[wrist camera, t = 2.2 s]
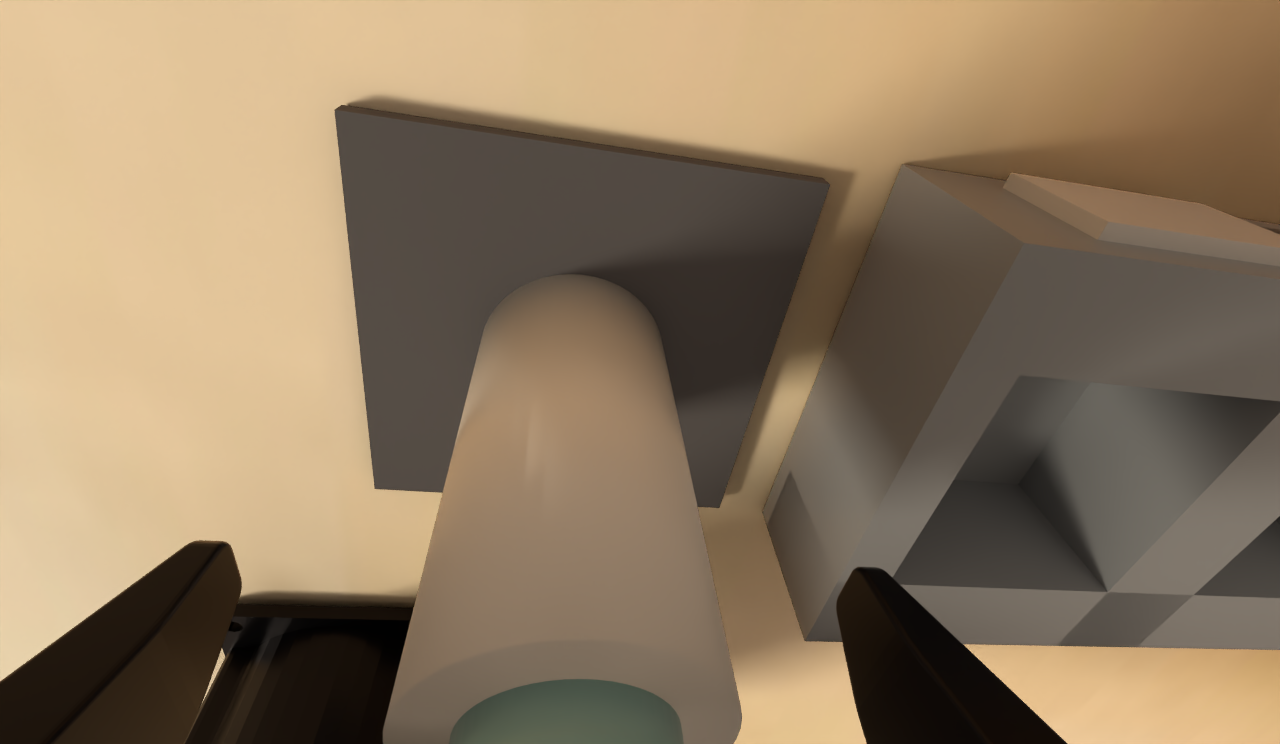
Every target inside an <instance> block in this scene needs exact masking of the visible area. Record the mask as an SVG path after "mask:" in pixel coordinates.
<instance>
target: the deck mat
mask: <svg viewBox="0 0 1280 744" xmlns="http://www.w3.org/2000/svg"><path fill="white" fill-rule="evenodd" d="M335 118H336V127H337V137H338V146H339V156H340V165H341V175H342V184H343V194H344V203H345V212H346V222H347V231H348V241H349V250H350V260H351V269H352V278H353V288H354V297H355V307H356V316H357V326H358V335H359V344H360V354H361V363H362V373H363V382H364V392H365V401H366V410H367V420H368V429H369V439H370V448H371V458H372V467H373V476H374V486H375V489H387V490H405V491H424V492H442V493H443V489H444V485H445V481H446V477H447V474H448V470H449V466H450V462H451V458H452V454H453V450H454V446H455V442H456V438H457V434H458V430H459V426H460V422H461V418H462V414H463V410H464V406H465V402H466V398H467V394H468V390H469V386H470V382H471V378H472V374H473V370H474V366H475V362H476V358H477V354H478V350H479V346H480V342H481V338H482V335H483V331H484V327H485V325H486V323H487V321H488V319H489V317H490V315H491V314H492V312H493V311H494V309H495V308H496V307H497V306H498V305H499V303H500V302H501V301H502V300H503V299H504V298H506V297H507V296H508V295H509V294H510V293H512V292H513V291H515V290H516V289H518V288H519V287H521V286H523V285H525V284H527V283H530V282H532V281H534V280H538V279H541V278H544V277H549V276H554V275H564V274H578V275H587V276H593V277H597V278H601V279H604V280H607V281H610V282H612V283H614V284H616V285H619V286H620V287H622V288H624V289H625V290H627V291H629V292H630V293H631V294H633V295H634V296H635V297H636V298H638V299H639V300H640V301H641V302H642V303H643V305H644V306H645V307H646V308H647V309H648V311H649V312H650V313H651V315H652V316H653V318H654V320H655V322H656V324H657V326H658V329H659V332H660V335H661V340H662V345H663V349H664V354H665V359H666V363H667V368H668V372H669V377H670V382H671V386H672V391H673V396H674V400H675V405H676V409H677V414H678V419H679V423H680V428H681V433H682V437H683V442H684V446H685V451H686V456H687V460H688V465H689V470H690V474H691V479H692V483H693V488H694V493H695V497H696V502H697V507H712V508H719V507H720V504H721V501H722V498H723V495H724V493H725V490H726V487H727V484H728V481H729V478H730V475H731V472H732V469H733V466H734V463H735V460H736V458H737V455H738V452H739V449H740V446H741V443H742V440H743V437H744V434H745V431H746V428H747V425H748V423H749V420H750V417H751V414H752V411H753V408H754V405H755V402H756V399H757V396H758V393H759V390H760V388H761V385H762V382H763V379H764V376H765V373H766V370H767V367H768V364H769V361H770V358H771V355H772V353H773V350H774V347H775V344H776V341H777V338H778V335H779V332H780V329H781V326H782V323H783V321H784V318H785V315H786V312H787V309H788V306H789V303H790V300H791V297H792V294H793V291H794V288H795V286H796V283H797V280H798V277H799V274H800V271H801V268H802V265H803V262H804V259H805V256H806V253H807V251H808V248H809V245H810V242H811V239H812V236H813V233H814V230H815V227H816V224H817V221H818V218H819V216H820V213H821V210H822V207H823V204H824V201H825V198H826V195H827V192H828V189H829V186H830V184H829V183H828V182H827V181H826V180H825V179H823V178H818V177H811V176H805V175H798V174H792V173H785V172H779V171H772V170H766V169H759V168H752V167H746V166H739V165H733V164H726V163H720V162H713V161H707V160H700V159H693V158H687V157H680V156H674V155H667V154H661V153H654V152H648V151H641V150H634V149H628V148H621V147H615V146H608V145H602V144H595V143H588V142H582V141H575V140H569V139H562V138H556V137H549V136H543V135H536V134H529V133H523V132H516V131H510V130H503V129H497V128H490V127H484V126H477V125H470V124H464V123H457V122H451V121H444V120H438V119H431V118H425V117H418V116H411V115H405V114H398V113H392V112H385V111H379V110H372V109H366V108H359V107H352V106H346V105H341V106H340V107H338V108H337V109H335Z"/></svg>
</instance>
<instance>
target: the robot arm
mask: <svg viewBox="0 0 1280 744" xmlns="http://www.w3.org/2000/svg"><path fill="white" fill-rule="evenodd" d="M241 588H242V581H241V576H240V573H239V570H238V566H237V563H236V560H235V557H234V553H233V550H232V548H231V545H229V544H228V543H227V542H224V541H202V540H200V541H194V542H191V543H189V544H187V545H186V546H184V547H183V548H182V549H180V550H179V551H177V552H176V553H175V554H173V555H172V556H171V557H169V558H168V559H167V560H165V561H164V562H162V563H161V564H160V565H158V566H157V567H156V568H154V569H153V570H152V571H150V572H149V573H147V574H146V575H145V576H143V577H142V578H141V579H139V580H138V581H137V582H135V583H134V584H132V585H131V586H130V587H128V588H127V589H126V590H124V591H123V592H122V593H120V594H119V595H117V596H116V597H115V598H113V599H112V600H111V601H109V602H108V603H107V604H105V605H104V606H102V607H101V608H100V609H98V610H97V611H96V612H94V613H93V614H92V615H90V616H89V617H87V618H86V619H85V620H83V621H82V622H81V623H79V624H78V625H77V626H75V627H74V628H72V629H71V630H70V631H68V632H67V633H66V634H64V635H63V636H62V637H60V638H59V639H57V640H56V641H55V642H53V643H52V644H51V645H49V646H48V647H47V648H45V649H44V650H42V651H41V652H40V653H38V654H37V655H36V656H34V657H33V658H32V659H30V660H29V661H27V662H26V663H25V664H23V665H22V666H21V667H19V668H18V669H17V670H15V671H14V672H12V673H11V674H10V675H8V676H7V677H6V678H4V679H3V680H2V681H0V744H383V728H384V724H385V720H386V716H387V712H388V708H389V704H390V700H391V696H392V692H393V688H394V684H395V680H396V676H397V672H398V668H399V664H400V660H401V656H402V652H403V648H404V644H405V640H406V636H407V632H408V628H409V624H410V620H411V617H412V613H413V609H412V608H372V607H332V606H292V605H252V604H237V603H238V601H239V598H240V594H241ZM836 613H837V618H838V623H839V628H840V633H841V638H842V642H843V647H844V652H845V657H846V662H847V667H848V671H849V676H850V681H851V686H852V691H853V696H854V700H855V704H856V708H857V712H858V716H859V719H860V723H861V726H862V729H863V733H864V736H865V739H866V742H867V744H1067V743H1066V742H1065V741H1064V740H1063V739H1062V738H1061V737H1060V736H1059V735H1058V734H1057V733H1056V732H1055V731H1054V730H1052V729H1051V728H1050V727H1049V726H1048V725H1047V724H1046V723H1045V722H1044V721H1043V720H1042V719H1041V718H1040V717H1039V716H1038V715H1037V714H1036V713H1035V712H1034V711H1032V710H1031V709H1030V708H1029V707H1028V706H1027V705H1026V704H1025V703H1024V702H1023V701H1022V700H1021V699H1020V698H1019V697H1018V696H1017V695H1016V694H1015V693H1014V692H1012V691H1011V690H1010V689H1009V688H1008V687H1007V686H1006V685H1005V684H1004V683H1003V682H1002V681H1001V680H1000V679H999V678H998V677H997V676H996V675H995V674H994V673H992V672H991V671H990V670H989V669H988V668H987V667H986V666H985V665H984V664H983V663H982V662H981V661H980V660H979V659H978V658H977V657H976V656H975V655H974V654H972V653H971V652H970V651H969V650H968V649H967V648H966V647H965V646H964V645H963V644H962V643H961V642H960V641H959V640H958V639H957V638H956V637H955V636H954V635H952V634H951V633H950V632H949V631H948V630H947V629H946V628H945V627H944V626H943V625H942V624H941V623H940V622H939V621H938V620H937V619H936V618H935V617H934V616H932V615H931V614H930V613H929V612H928V611H927V610H926V609H925V608H924V607H923V606H922V605H921V604H920V603H919V602H918V601H917V600H916V599H915V598H914V597H912V596H911V595H910V594H909V593H908V592H907V591H906V590H905V589H904V588H903V587H902V586H901V585H900V584H899V583H898V582H897V581H896V580H895V579H894V578H892V577H891V576H890V575H889V574H888V573H887V572H886V571H885V570H883V569H881V568H877V567H857V568H855V569H854V570H853V571H852V572H851V574H850V576H849V578H848V580H847V581H846V583H845V585H844V587H843V588H842V590H841V592H840V594H839V596H838V598H837V602H836ZM221 648H222V649H223V651H224V654H225V659H224V661H223V663H222V665H221V667H220V669H219V671H218V673H217V675H216V677H215V679H214V681H213V683H212V685H211V687H210V689H209V691H208V693H207V695H206V697H205V699H204V696H205V694H206V691H207V688H208V685H209V682H210V679H211V677H212V674H213V671H214V668H215V665H216V663H217V660H218V657H219V654H220V651H221ZM203 699H204V701H203ZM202 701H203V703H202ZM201 704H202V705H201Z"/></svg>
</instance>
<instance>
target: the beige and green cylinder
mask: <svg viewBox="0 0 1280 744" xmlns="http://www.w3.org/2000/svg"><path fill="white" fill-rule="evenodd" d="M741 721H742V713H741V705H740V701H739V696H738V691H737V687H736V682H735V678H734V673H733V668H732V664H731V659H730V655H729V650H728V645H727V641H726V636H725V631H724V627H723V622H722V618H721V613H720V608H719V604H718V599H717V594H716V590H715V585H714V581H713V576H712V571H711V567H710V562H709V557H708V553H707V548H706V544H705V539H704V534H703V530H702V525H701V520H700V516H699V511H698V507H697V502H696V497H695V493H694V488H693V483H692V479H691V474H690V470H689V465H688V460H687V456H686V451H685V446H684V442H683V437H682V433H681V428H680V423H679V419H678V414H677V409H676V405H675V400H674V396H673V391H672V386H671V382H670V377H669V372H668V368H667V363H666V359H665V354H664V349H663V345H662V340H661V335H660V332H659V329H658V326H657V324H656V322H655V320H654V318H653V316H652V315H651V313H650V312H649V311H648V309H647V308H646V307H645V306H644V305H643V303H642V302H641V301H640V300H639V299H638V298H636V297H635V296H634V295H633V294H631V293H630V292H629V291H627V290H625V289H624V288H622V287H620V286H619V285H616V284H614V283H612V282H610V281H607V280H604V279H601V278H597V277H593V276H587V275H578V274H564V275H554V276H549V277H544V278H541V279H538V280H534V281H532V282H530V283H527V284H525V285H523V286H521V287H519V288H518V289H516V290H515V291H513V292H512V293H510V294H509V295H508V296H507V297H506V298H504V299H503V300H502V301H501V302H500V303H499V305H498V306H497V307H496V308H495V309H494V311H493V312H492V314H491V315H490V317H489V319H488V321H487V323H486V325H485V327H484V331H483V335H482V338H481V342H480V346H479V350H478V354H477V358H476V362H475V366H474V370H473V374H472V378H471V382H470V386H469V390H468V394H467V398H466V402H465V406H464V410H463V414H462V418H461V422H460V426H459V430H458V434H457V438H456V442H455V446H454V450H453V454H452V458H451V462H450V466H449V470H448V474H447V477H446V481H445V485H444V489H443V493H442V497H441V501H440V505H439V509H438V513H437V517H436V521H435V525H434V529H433V533H432V537H431V541H430V545H429V549H428V553H427V557H426V561H425V565H424V569H423V573H422V577H421V581H420V585H419V589H418V593H417V597H416V601H415V605H414V609H413V613H412V617H411V620H410V624H409V628H408V632H407V636H406V640H405V644H404V648H403V652H402V656H401V660H400V664H399V668H398V672H397V676H396V680H395V684H394V688H393V692H392V696H391V700H390V704H389V708H388V712H387V716H386V720H385V724H384V728H383V744H733V743H734V742H735V740H736V738H737V736H738V733H739V731H740V728H741Z"/></svg>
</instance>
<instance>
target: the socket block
mask: <svg viewBox="0 0 1280 744" xmlns="http://www.w3.org/2000/svg"><path fill="white" fill-rule="evenodd" d="M762 513H763V516H764V519H765V522H766V525H767V528H768V531H769V534H770V537H771V540H772V543H773V546H774V549H775V552H776V555H777V558H778V561H779V564H780V567H781V571H782V574H783V577H784V580H785V583H786V586H787V589H788V592H789V595H790V598H791V601H792V604H793V607H794V610H795V613H796V616H797V619H798V622H799V625H800V628H801V631H802V634H803V637H804V640H805V641H824V642H842V638H841V633H840V628H839V623H838V618H837V613H836V602H837V598H838V596H839V594H840V592H841V590H842V588H843V587H844V585H845V583H846V581H847V580H848V578H849V576H850V574H851V572H852V571H853V570H854V569H855V568H857V567H877V568H881V569H883V570H885V571H886V572H887V573H888V574H889V575H890V576H891V577H892V578H894V579H895V580H896V581H897V582H898V583H899V584H900V585H901V586H902V587H903V588H904V589H905V590H906V591H907V592H908V593H909V594H910V595H911V596H912V597H914V598H915V599H916V600H917V601H918V602H919V603H920V604H921V605H922V606H923V607H924V608H925V609H926V610H927V611H928V612H929V613H930V614H931V615H932V616H934V617H935V618H936V619H937V620H938V621H939V622H940V623H941V624H942V625H943V626H944V627H945V628H946V629H947V630H948V631H949V632H950V633H951V634H952V635H954V636H955V637H956V638H957V639H958V640H959V641H960V642H961V643H962V644H987V645H1041V646H1096V647H1150V648H1204V649H1258V650H1280V224H1273V223H1267V222H1261V221H1255V220H1249V219H1242V218H1237V217H1234V216H1232V215H1229V214H1227V213H1224V212H1222V211H1219V210H1217V209H1214V208H1212V207H1209V206H1207V205H1204V204H1202V203H1196V202H1189V201H1183V200H1177V199H1171V198H1165V197H1159V196H1153V195H1146V194H1140V193H1134V192H1128V191H1122V190H1116V189H1110V188H1104V187H1097V186H1091V185H1085V184H1079V183H1073V182H1067V181H1061V180H1055V179H1048V178H1042V177H1036V176H1030V175H1024V174H1018V173H1012V172H1011V173H1010V175H1009V176H1008V178H1007V180H1006V181H1005V180H999V179H993V178H987V177H980V176H974V175H968V174H962V173H955V172H949V171H943V170H937V169H930V168H924V167H918V166H912V165H905V164H902V166H901V168H900V171H899V173H898V176H897V178H896V181H895V183H894V186H893V188H892V191H891V193H890V196H889V198H888V201H887V203H886V205H885V208H884V210H883V213H882V215H881V218H880V220H879V223H878V225H877V228H876V230H875V233H874V235H873V238H872V240H871V243H870V245H869V248H868V250H867V253H866V255H865V258H864V260H863V263H862V265H861V268H860V270H859V273H858V275H857V278H856V280H855V283H854V285H853V288H852V290H851V293H850V295H849V298H848V300H847V303H846V305H845V308H844V310H843V313H842V315H841V318H840V320H839V323H838V325H837V327H836V330H835V332H834V335H833V337H832V340H831V342H830V345H829V347H828V350H827V352H826V355H825V357H824V360H823V362H822V365H821V367H820V370H819V372H818V375H817V377H816V380H815V382H814V385H813V387H812V390H811V392H810V395H809V397H808V400H807V402H806V405H805V407H804V410H803V412H802V415H801V417H800V420H799V422H798V425H797V427H796V430H795V432H794V435H793V437H792V440H791V442H790V444H789V447H788V449H787V452H786V454H785V457H784V459H783V462H782V464H781V467H780V469H779V472H778V474H777V477H776V479H775V482H774V484H773V487H772V489H771V492H770V494H769V497H768V499H767V502H766V504H765V507H764V509H763V512H762Z"/></svg>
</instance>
